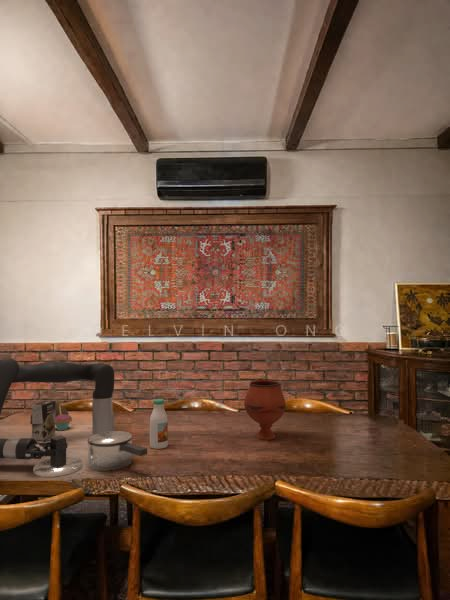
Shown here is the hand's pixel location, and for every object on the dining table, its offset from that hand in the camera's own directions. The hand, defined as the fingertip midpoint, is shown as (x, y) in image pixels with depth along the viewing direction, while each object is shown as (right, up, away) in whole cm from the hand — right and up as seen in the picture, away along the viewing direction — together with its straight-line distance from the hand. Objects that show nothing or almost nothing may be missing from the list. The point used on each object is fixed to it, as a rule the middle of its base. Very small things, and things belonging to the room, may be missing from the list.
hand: (61, 449), depth 156 cm
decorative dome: (-34, -10, +70) cm, 79 cm away
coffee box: (-24, -9, +39) cm, 47 cm away
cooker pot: (+21, -7, +1) cm, 22 cm away
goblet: (+79, -8, +37) cm, 88 cm away
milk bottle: (+32, -8, +24) cm, 41 cm away
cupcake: (-20, -9, +53) cm, 58 cm away
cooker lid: (-1, -7, 0) cm, 7 cm away
